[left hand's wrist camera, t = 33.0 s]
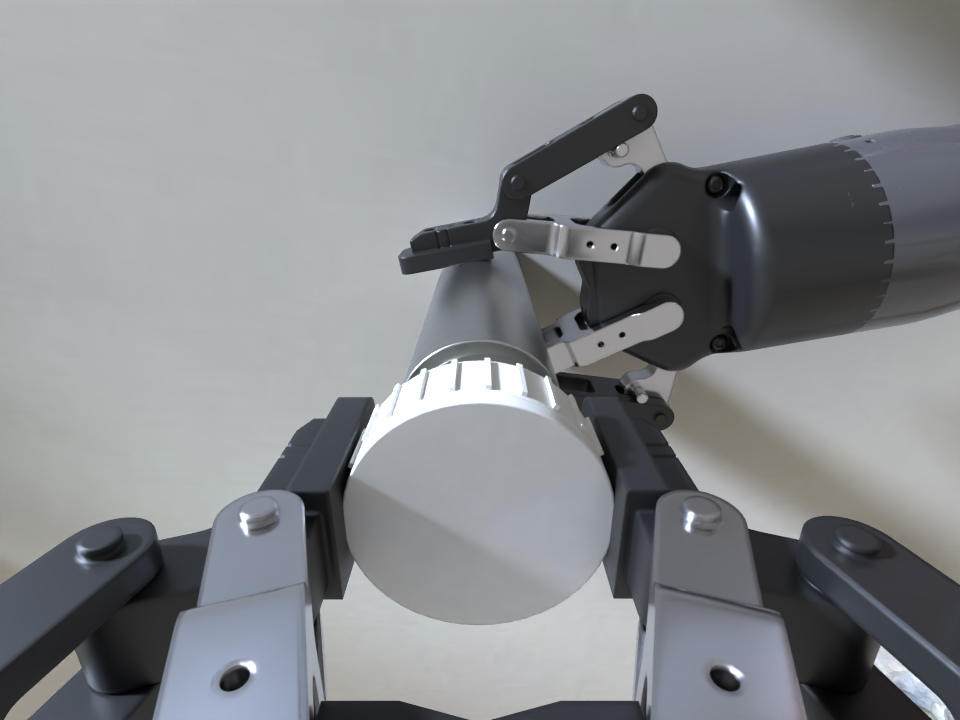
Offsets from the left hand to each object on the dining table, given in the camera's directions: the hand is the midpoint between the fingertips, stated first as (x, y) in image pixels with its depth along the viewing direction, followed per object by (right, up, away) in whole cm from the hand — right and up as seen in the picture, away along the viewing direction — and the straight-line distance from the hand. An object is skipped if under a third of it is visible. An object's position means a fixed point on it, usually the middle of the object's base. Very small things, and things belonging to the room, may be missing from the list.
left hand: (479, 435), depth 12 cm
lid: (0, -1, -2) cm, 3 cm away
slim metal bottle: (0, +6, +16) cm, 17 cm away
